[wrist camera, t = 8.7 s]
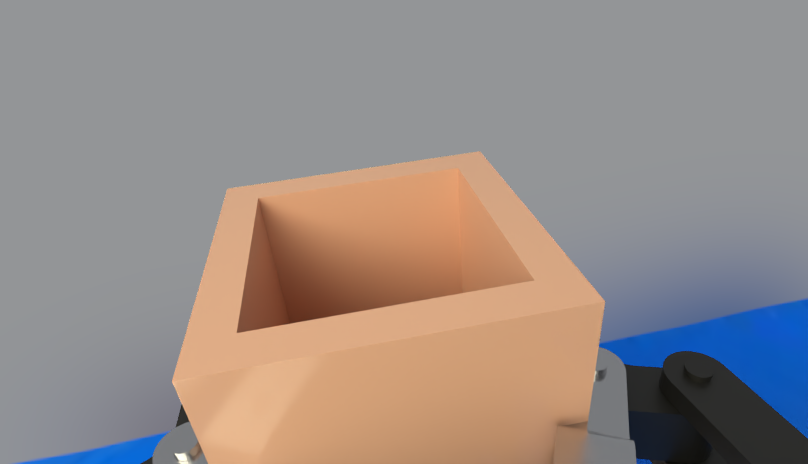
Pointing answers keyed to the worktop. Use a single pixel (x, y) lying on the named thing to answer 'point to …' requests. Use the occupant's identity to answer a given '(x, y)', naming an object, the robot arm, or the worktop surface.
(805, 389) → the worktop surface
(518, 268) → the cup
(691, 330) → the worktop surface
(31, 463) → the worktop surface
